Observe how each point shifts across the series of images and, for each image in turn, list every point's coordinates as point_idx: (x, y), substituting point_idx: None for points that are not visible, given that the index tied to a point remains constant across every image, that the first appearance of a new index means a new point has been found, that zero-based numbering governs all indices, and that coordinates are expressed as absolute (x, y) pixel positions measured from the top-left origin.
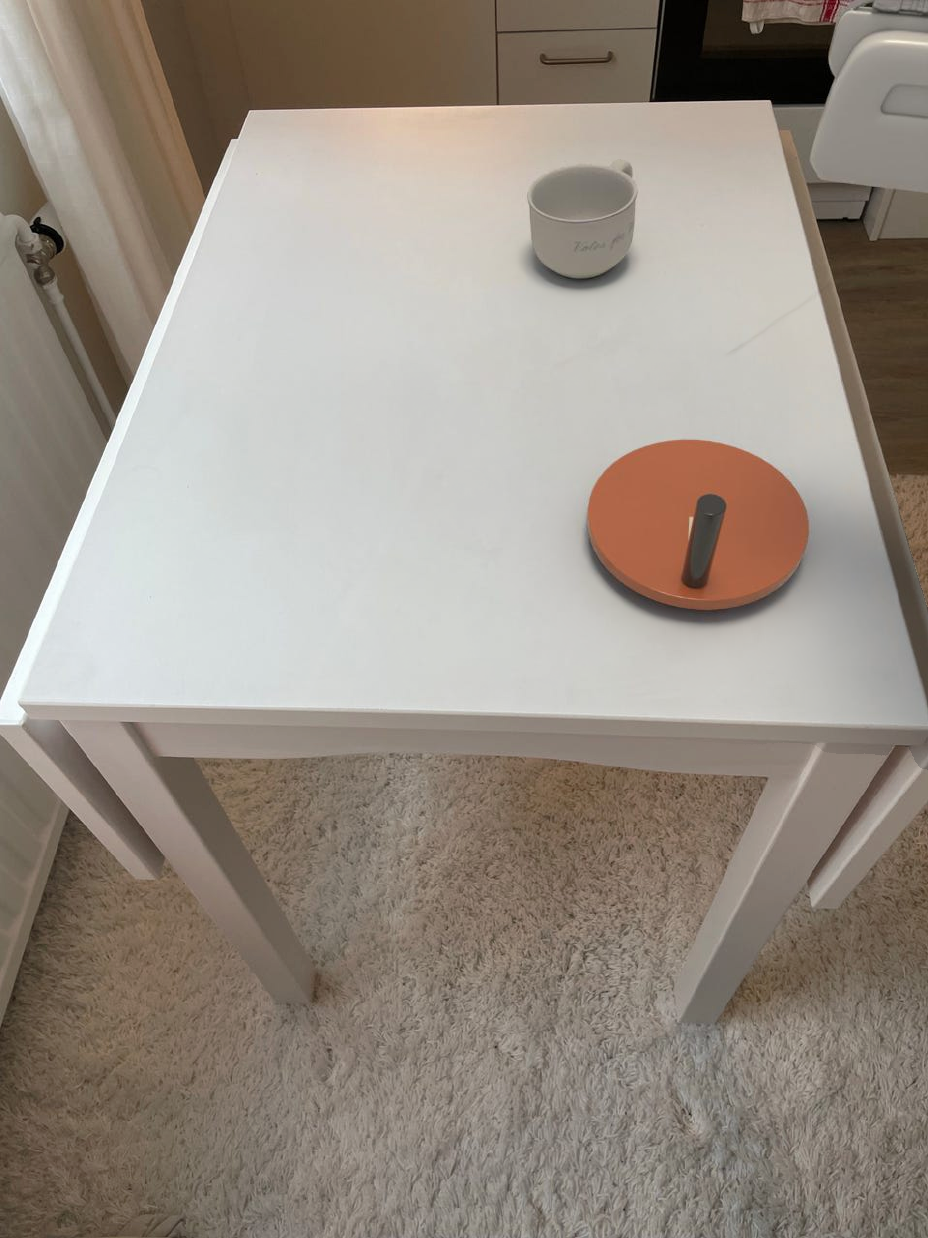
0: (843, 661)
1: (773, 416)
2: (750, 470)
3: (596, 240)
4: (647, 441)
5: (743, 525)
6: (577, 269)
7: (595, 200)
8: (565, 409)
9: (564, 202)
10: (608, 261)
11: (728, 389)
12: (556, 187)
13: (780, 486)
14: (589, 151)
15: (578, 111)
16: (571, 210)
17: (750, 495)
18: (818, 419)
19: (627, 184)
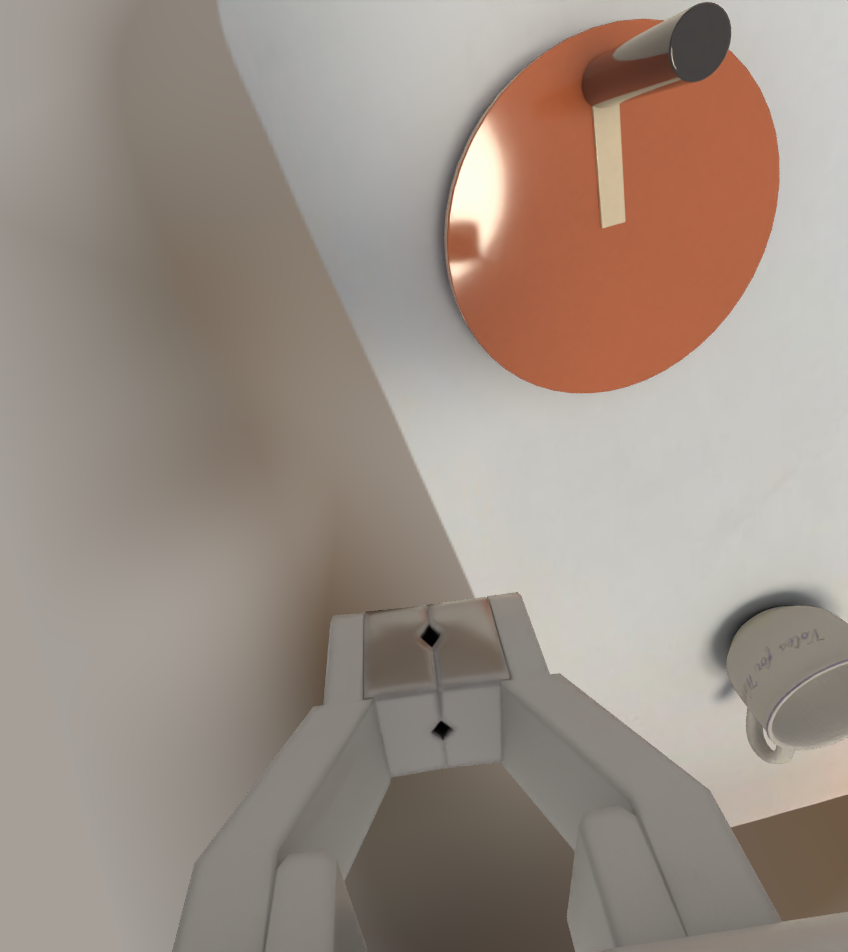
0: (337, 56)
1: (518, 487)
2: (547, 356)
3: (797, 649)
4: (669, 388)
5: (542, 239)
6: (790, 612)
7: (783, 707)
8: (780, 403)
9: (819, 694)
10: (757, 633)
11: (577, 509)
12: (846, 707)
13: (503, 341)
14: (761, 768)
15: (774, 808)
16: (802, 688)
17: (541, 307)
18: (465, 502)
19: (773, 733)
